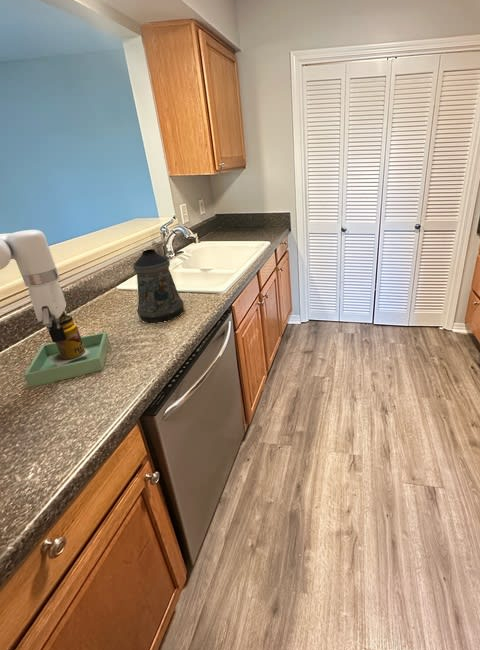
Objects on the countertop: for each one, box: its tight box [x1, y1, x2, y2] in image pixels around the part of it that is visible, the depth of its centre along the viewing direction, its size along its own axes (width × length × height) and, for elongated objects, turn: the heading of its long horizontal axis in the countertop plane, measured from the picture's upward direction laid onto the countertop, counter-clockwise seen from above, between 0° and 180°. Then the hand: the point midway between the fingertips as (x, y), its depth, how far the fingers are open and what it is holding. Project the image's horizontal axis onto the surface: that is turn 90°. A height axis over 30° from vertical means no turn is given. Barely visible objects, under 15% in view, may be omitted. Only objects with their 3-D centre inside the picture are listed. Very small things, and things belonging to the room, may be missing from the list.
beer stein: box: [132, 248, 185, 324], centre depth 121 cm, size 16×19×25 cm
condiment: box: [49, 314, 90, 366], centre depth 93 cm, size 7×8×12 cm
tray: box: [23, 331, 110, 388], centre depth 96 cm, size 18×17×4 cm
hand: (62, 334), depth 93 cm, fingers closed on condiment, 6 cm apart
